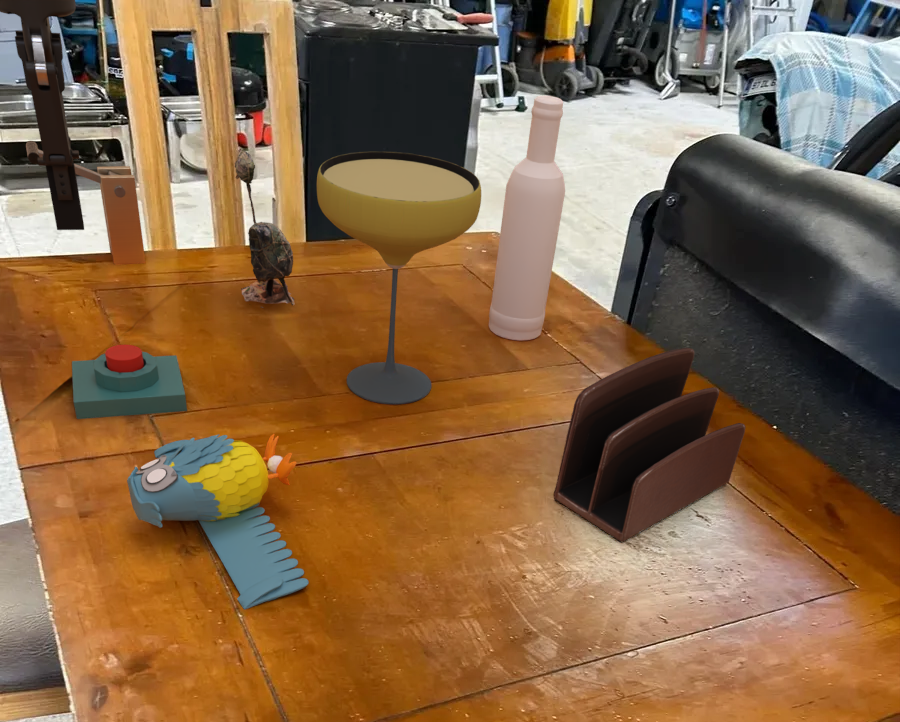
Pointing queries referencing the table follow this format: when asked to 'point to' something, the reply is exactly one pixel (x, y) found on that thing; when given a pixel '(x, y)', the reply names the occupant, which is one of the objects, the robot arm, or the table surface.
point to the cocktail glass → (396, 234)
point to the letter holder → (643, 446)
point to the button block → (127, 388)
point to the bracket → (122, 215)
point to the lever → (79, 170)
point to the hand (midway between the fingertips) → (70, 227)
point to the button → (124, 358)
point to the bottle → (529, 230)
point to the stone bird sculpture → (265, 250)
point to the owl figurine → (223, 508)
